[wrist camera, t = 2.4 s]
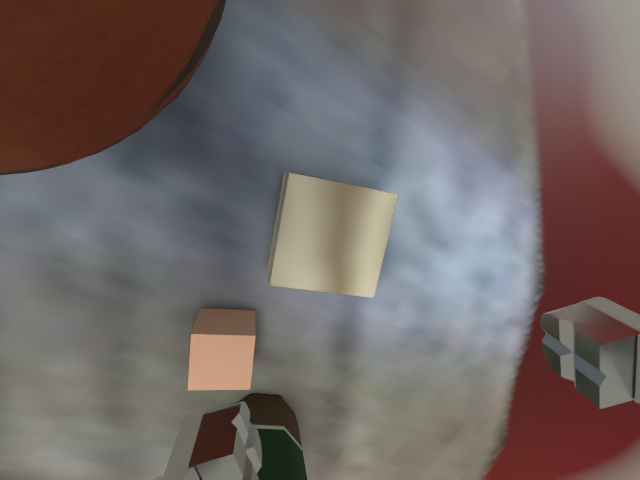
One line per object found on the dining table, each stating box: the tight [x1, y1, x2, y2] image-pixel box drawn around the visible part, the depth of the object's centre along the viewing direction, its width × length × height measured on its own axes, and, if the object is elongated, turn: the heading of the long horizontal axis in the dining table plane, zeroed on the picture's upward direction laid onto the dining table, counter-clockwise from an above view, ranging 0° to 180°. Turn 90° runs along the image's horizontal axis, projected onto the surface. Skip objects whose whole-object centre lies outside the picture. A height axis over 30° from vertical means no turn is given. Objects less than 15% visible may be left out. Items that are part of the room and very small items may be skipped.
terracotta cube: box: [188, 308, 256, 390], centre depth 30 cm, size 5×5×5 cm
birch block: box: [267, 171, 399, 298], centre depth 30 cm, size 9×9×5 cm
